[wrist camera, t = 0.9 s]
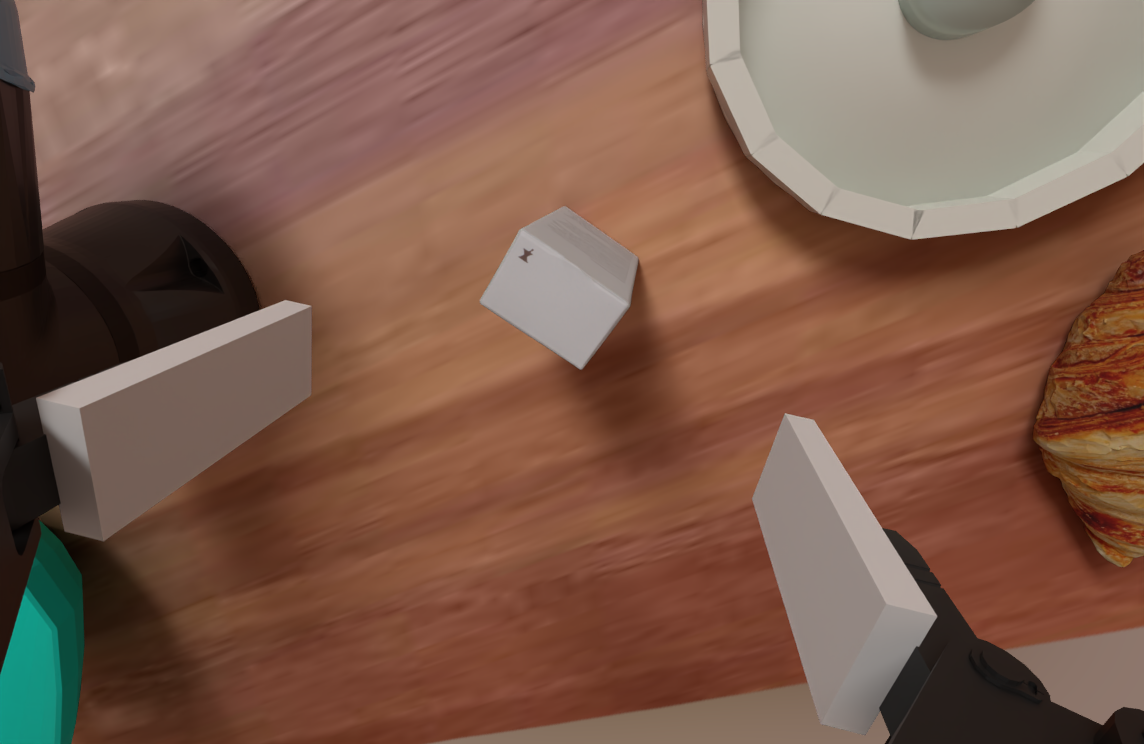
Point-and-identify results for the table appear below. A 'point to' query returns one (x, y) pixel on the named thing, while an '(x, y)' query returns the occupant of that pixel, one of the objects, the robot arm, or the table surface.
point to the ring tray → (932, 104)
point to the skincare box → (563, 285)
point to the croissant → (1102, 417)
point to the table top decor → (45, 652)
